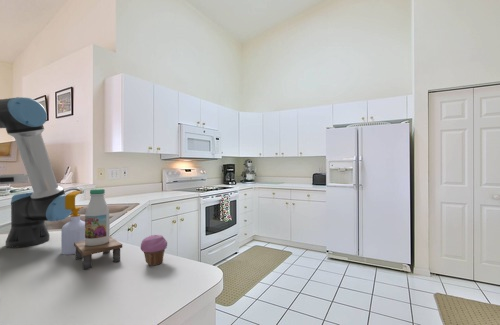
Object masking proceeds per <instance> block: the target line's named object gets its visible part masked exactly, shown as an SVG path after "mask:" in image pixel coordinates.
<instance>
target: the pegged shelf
mask: <svg viewBox="0 0 500 325" xmlns="http://www.w3.org/2000/svg"><path fill="white" fill-rule="evenodd" d="M74 246H75V248H76V254H75V260H76V261H78V260H82V264H83V266H82V269H83V270H85V271H88V270H91V269H92V266H93V264H92V263H93V262H92V261H93V259H92V258H93V257H92V256H93V255H95V254H99V253H102V254H104V255H105V254H110V253H111V251H112V262H113V263H119V262H120V261H121V249H123V243H121V242H120V241H118V240H117V239H116V238H113V237H112V236H110V240H109V242H108V243H106V244H103V245H98V246H86V245H85V241H80V242H75V243H74Z"/></svg>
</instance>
